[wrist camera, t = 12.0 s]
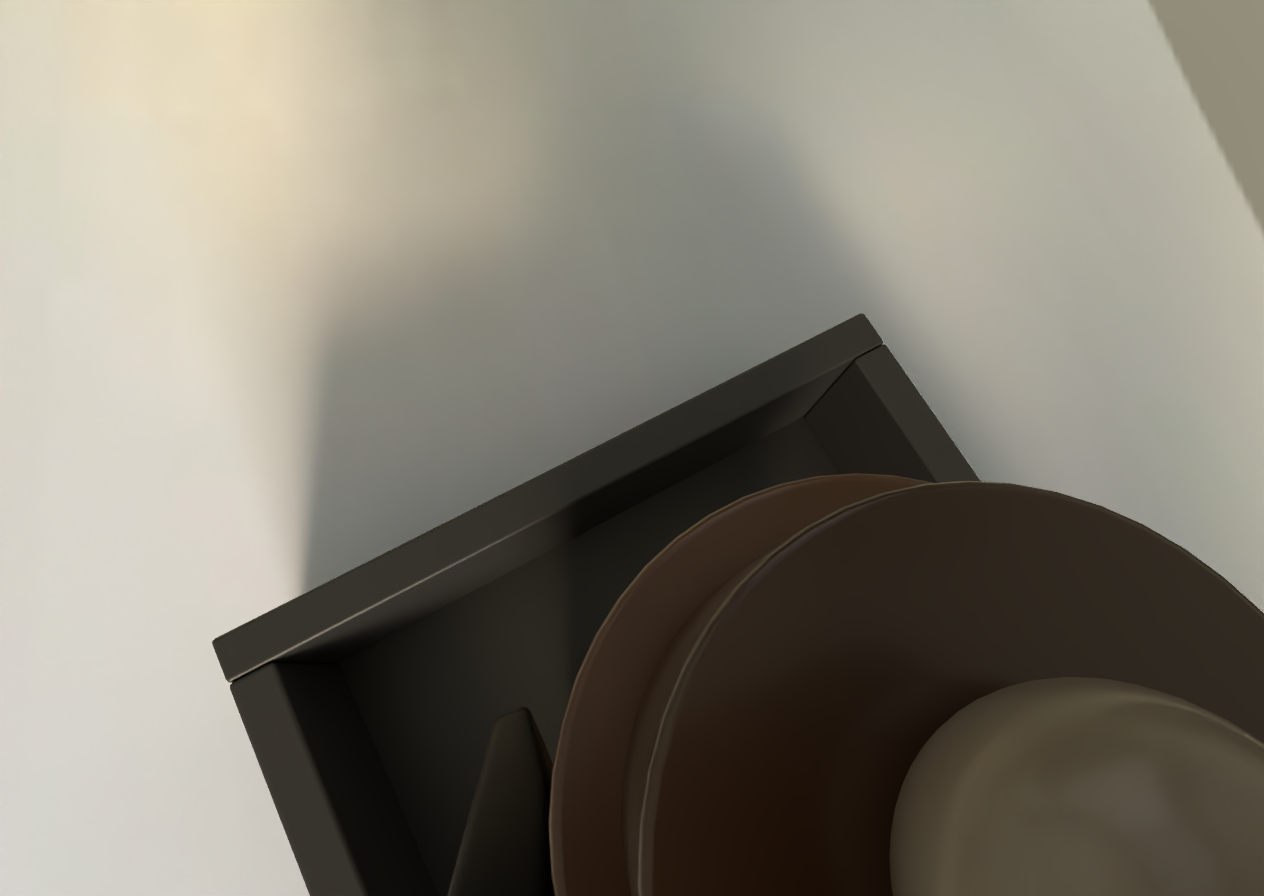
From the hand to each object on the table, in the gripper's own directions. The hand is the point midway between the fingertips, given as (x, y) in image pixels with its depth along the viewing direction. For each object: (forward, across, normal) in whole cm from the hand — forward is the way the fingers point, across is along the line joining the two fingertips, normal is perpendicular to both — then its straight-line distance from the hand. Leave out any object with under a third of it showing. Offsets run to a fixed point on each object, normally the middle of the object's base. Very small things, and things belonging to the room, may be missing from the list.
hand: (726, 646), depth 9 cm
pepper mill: (+4, 0, +6) cm, 7 cm away
